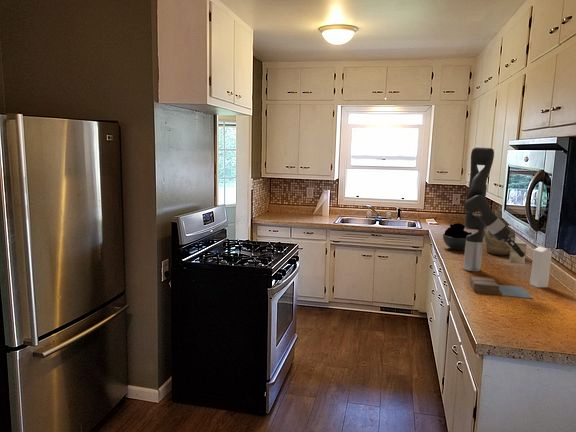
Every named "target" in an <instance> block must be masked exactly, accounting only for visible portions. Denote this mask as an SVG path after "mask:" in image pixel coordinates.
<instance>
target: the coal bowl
mask: <svg viewBox="0 0 576 432" xmlns="http://www.w3.org/2000/svg"><path fill="white" fill-rule="evenodd" d="M465 228H466V227H465V224H463V223H458V222H457V223H454V224H452V223H450V225H449V227H448V228H447V229H446V230H445V231H444V233H443V234H442V239H443V242H444V244H445V245H446V246H447V247H448V248H449V249H452V250H456V251H462V250H465V245H466V236H467V235H470V234H473V233H472V232H471V231H470V232H468V231H466V230H465Z"/></svg>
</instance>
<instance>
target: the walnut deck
mask: <svg viewBox="0 0 576 432" xmlns="http://www.w3.org/2000/svg"><path fill="white" fill-rule="evenodd" d="M498 285H499V284H498V283H497V282H496V280H495V279H494V278H493V277H484V276H473V275H470V276H469V286H470V287H471V289H472V290H473V292H474V293H480V292H482V294H483V293H484V294H490V293H492V294H493V295H499V292H500V291H499V286H498ZM492 294H491V295H492Z"/></svg>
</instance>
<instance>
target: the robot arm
mask: <svg viewBox="0 0 576 432" xmlns="http://www.w3.org/2000/svg"><path fill="white" fill-rule="evenodd" d="M494 158H495V150H494V149H493V148H490V147H477V146H476V147H473V148H472V150H471V153H470V173H469V175H470V176H469V182H468V189H467V190H468V191H467V193H468V194H467V196H466V198H465V200H464V208H465V209H464V210H465V211H466V212H465V213H466V214H465V219H464V226H465V228H466V229H468V230H474V231H475V230H477V232H473V233H472V234H470V235H467V236H466V245H465V249H464V255H463V256H464V257H463V265H462V267H463V270H465V271H469V272H480V271H481V265H482V253H483V244H484V238H483V235H484V231H485V229H486V230H487V229H488V230H489V231H490V232H491V234H492V235H493V236H494V237H495V238H496V239H497V240H498V241H500V240H502V239H503V240H504V242H505V243H506V244H507V245H508V246H509V247H510V248H511V249H514V250H515V252H517V253H518V255H519V256H520V257H523V256H525V257H526V255H525V254H524V253H523V252H522V251H521V250H520V247H518V245H517V243H516V242H517V241H516V240H515V241H514V239H513V238H512V237H510V236H508V235H509V234H510V233H511V231H510V230H509V228H508V227H509V226H508V227H507V226H506V225H505V224H504V223H503V222H502V221H501V220H500V219H499V218H498V217H497V216H496V215H495V212H493V210H492V209H491V206H490V205H489V202H488V200H487V199H486V196H487V190H488V189H487V188H488V186H487V182H488V178H489V176H490V173H491V170H492V166H493V162H494ZM478 166H484V167H482V169H481V170H479V167H478ZM478 211H480V212H481V213H476V212H478ZM485 227H486V228H485ZM515 247H517V248H516V249H515Z"/></svg>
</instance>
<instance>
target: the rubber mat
mask: <svg viewBox="0 0 576 432" xmlns="http://www.w3.org/2000/svg"><path fill="white" fill-rule="evenodd" d="M498 286H499V291H498V292H500V293H501V295H502V296H504V297H510V298H519V299H520V298H521V299H530V300H533V299H534V297H533V296H532V295H531V294H530V293H529V292H528V291H527V290H526V289H525V288H524V287H522V286H514V285H505V284H503V285H502V284H498Z"/></svg>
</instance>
